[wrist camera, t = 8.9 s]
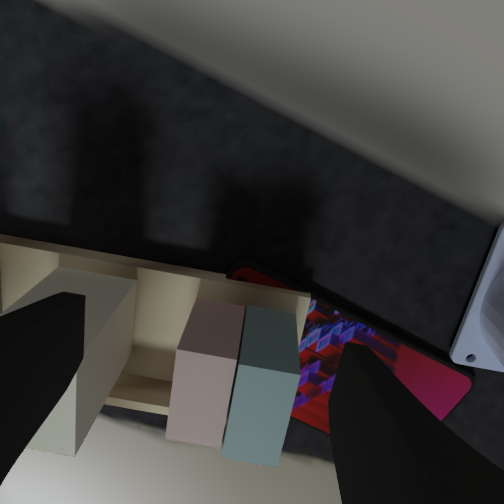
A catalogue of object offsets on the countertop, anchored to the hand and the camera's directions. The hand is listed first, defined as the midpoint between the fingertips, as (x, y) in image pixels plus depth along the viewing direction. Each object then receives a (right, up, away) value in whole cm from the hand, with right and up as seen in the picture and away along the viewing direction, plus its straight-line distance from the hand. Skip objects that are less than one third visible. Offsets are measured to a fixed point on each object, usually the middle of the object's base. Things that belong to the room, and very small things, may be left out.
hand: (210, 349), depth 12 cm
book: (-7, 0, +11) cm, 13 cm away
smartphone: (+5, -4, +13) cm, 14 cm away
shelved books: (+1, -2, +12) cm, 12 cm away
